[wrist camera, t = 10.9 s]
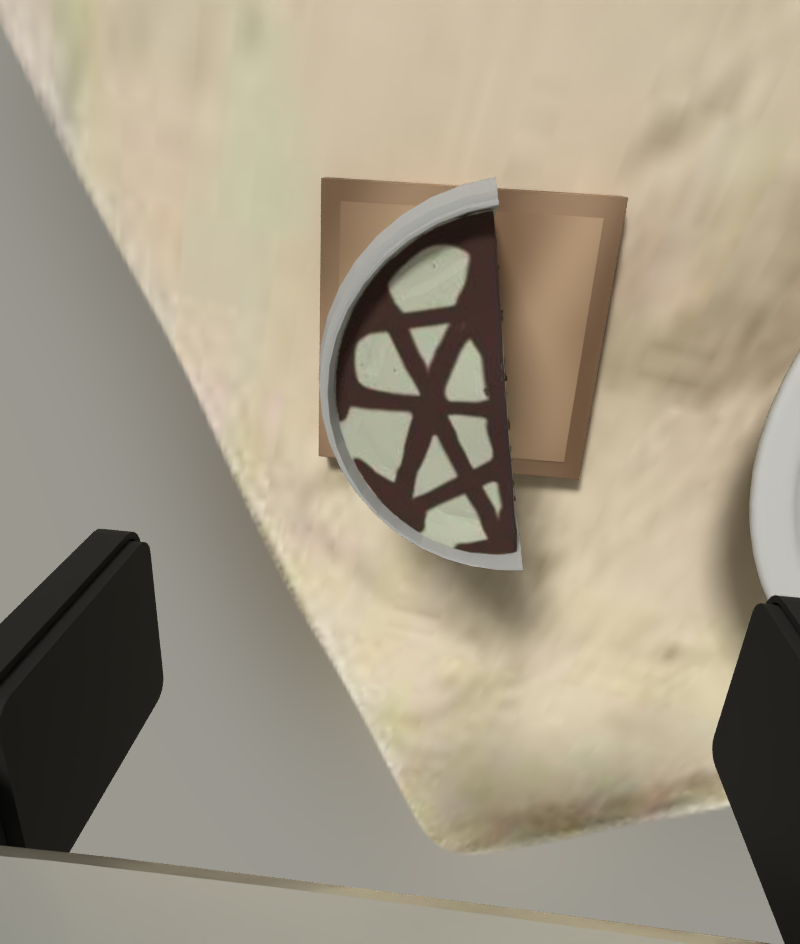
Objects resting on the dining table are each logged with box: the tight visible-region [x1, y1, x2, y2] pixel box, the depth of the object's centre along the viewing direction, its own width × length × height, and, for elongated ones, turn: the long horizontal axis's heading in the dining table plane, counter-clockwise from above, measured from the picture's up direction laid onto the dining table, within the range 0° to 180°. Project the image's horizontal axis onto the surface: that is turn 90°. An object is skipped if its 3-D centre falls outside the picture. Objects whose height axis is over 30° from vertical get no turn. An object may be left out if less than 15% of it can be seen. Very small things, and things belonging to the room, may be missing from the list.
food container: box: [319, 177, 523, 570], centre depth 26 cm, size 12×6×10 cm, turn 7°
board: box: [319, 177, 628, 480], centre depth 31 cm, size 12×12×1 cm
